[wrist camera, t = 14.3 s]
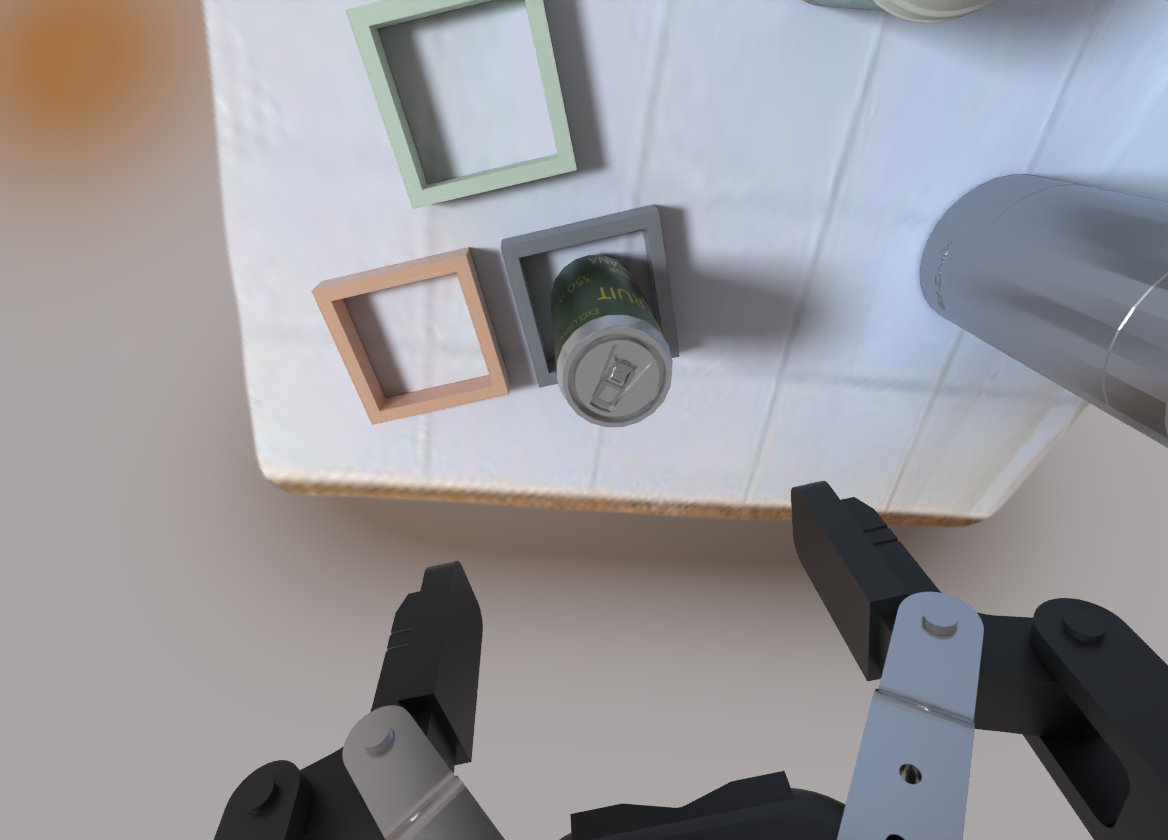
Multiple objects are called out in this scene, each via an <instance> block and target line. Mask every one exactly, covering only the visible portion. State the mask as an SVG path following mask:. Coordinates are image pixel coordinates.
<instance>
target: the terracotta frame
mask: <svg viewBox="0 0 1168 840" xmlns="http://www.w3.org/2000/svg"><path fill="white" fill-rule="evenodd" d="M455 272H457V275H458V278H459V282H460V285H461V288H462V291H463V294H464V297H465V300H466V303H467V306H468V310H469V313H470V316H471V319H472V322H473V325H474V328H475V331H476V334H477V338H478V341H479V344H480V347H481V350H482V353H483V356H484V359H485V363H486V366H487V369H488V372H489V375H487V376H483V377H478V378H474V379H469V380H465V381H460V382H456V383H451V384H447V385H443V386H438V387H434V388H429V389H425V390H420V391H416V392H411V393H407V394H402V395H398V396H393V397H389V398H385V396H384V394H383V391H382V389H381V387H380V384H379V382H378V380H377V377H376V375H375V373H374V370H373V368H372V366H371V363H370V361H369V359H368V356H367V354H366V352H365V349H364V347H363V345H362V342H361V340H360V338H359V335H358V333H357V331H356V328H355V326H354V324H353V321H352V319H351V317H350V314H349V312H348V310H347V307H346V305H345V303H344V300H343V298H347V297H351V296H356V295H360V294H364V293H369V292H373V291H377V290H382V289H386V288H390V287H395V286H399V285H403V284H408V283H412V282H416V281H421V280H425V279H429V278H434V277H438V276H442V275H447V274H451V273H455ZM312 293H313V295H314V298H315V300H316V302H317V304H318V306H319V309H320V311H321V313H322V315H323V317H324V320H325V322H326V324H327V326H328V328H329V331H330V333H331V335H332V337H333V340H334V342H335V344H336V346H337V348H338V351H339V353H340V355H341V357H342V359H343V362H344V364H345V366H346V368H347V370H348V373H349V375H350V377H351V379H352V382H353V384H354V386H355V388H356V390H357V393H358V395H359V397H360V399H361V401H362V404H363V406H364V408H365V410H366V412H367V415H368V417H369V419H370V421H371V423H372V425H373V424H378V423H382V422H387V421H391V420H396V419H400V418H405V417H409V416H414V415H418V414H423V413H427V412H432V411H436V410H441V409H445V408H450V407H454V406H459V405H463V404H468V403H472V402H477V401H481V400H486V399H490V398H495V397H499V396H504V395H508V394H509V385H510V381H509V378H508V374H507V371H506V368H505V365H504V361H503V358H502V355H501V351H500V348H499V345H498V342H497V338H496V335H495V332H494V328H493V325H492V322H491V319H490V315H489V312H488V309H487V305H486V302H485V299H484V295H483V292H482V289H481V286H480V282H479V279H478V276H477V272H476V269H475V266H474V263H473V259H472V256H471V253H470V249H469V247H468V248H464V249H460V250H455V251H451V252H447V253H442V254H438V255H434V256H430V257H425V258H421V259H417V260H412V261H408V262H404V263H399V264H395V265H391V266H386V267H382V268H378V269H374V270H369V271H365V272H361V273H356V274H352V275H348V276H343V277H339V278H335V279H330V280H326V281H322V282H320V283H319V284H318V285H317V286H316V287H315V288H314V289H313V290H312Z"/></svg>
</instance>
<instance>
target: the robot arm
mask: <svg viewBox="0 0 1168 840" xmlns="http://www.w3.org/2000/svg"><path fill="white" fill-rule="evenodd" d="M920 285H921V288H922V292H923V295H924V297H925V299H926V301H927V302H928V304H929V306H930V307H931V308H932V309H933V310H934V311H935V312H937V313H938V314H939V315H940V316H942V317H944V318H945V319H947V320H949V321H951V322H952V323H954V324H956V325H957V326H959V327H961V328H963V329H964V330H966V331H968V332H969V333H971V334H973V335H975V336H976V337H977V338H979V339H981V340H983V341H984V342H986V343H988V344H989V345H991V346H993V347H995V348H996V349H998V350H1000V351H1002V352H1003V353H1005V354H1007V355H1008V356H1010V357H1012V358H1014V359H1015V360H1017V361H1019V362H1020V363H1022V364H1024V365H1026V366H1027V367H1029V368H1031V369H1032V370H1034V371H1036V372H1038V373H1039V374H1041V375H1043V376H1044V377H1046V378H1048V379H1050V380H1051V381H1053V382H1055V383H1056V384H1058V385H1060V386H1062V387H1063V388H1065V389H1067V390H1068V391H1070V392H1072V393H1074V394H1075V395H1077V396H1079V397H1081V398H1082V399H1084V400H1086V401H1087V402H1089V403H1091V404H1093V405H1094V406H1096V407H1098V408H1099V409H1101V410H1103V411H1105V412H1106V413H1108V414H1110V415H1111V416H1113V417H1115V418H1117V419H1118V420H1120V421H1122V422H1123V423H1125V424H1127V425H1129V426H1131V427H1133V428H1134V429H1136V430H1138V431H1140V432H1141V433H1143V434H1145V435H1146V436H1148V437H1150V438H1152V439H1153V440H1155V441H1157V442H1158V443H1160V444H1162V445H1164V446H1165V447H1167V448H1168V202H1164V201H1159V200H1154V199H1149V198H1144V197H1139V196H1134V195H1129V194H1123V193H1118V192H1113V191H1108V190H1103V189H1098V188H1093V187H1089V186H1084V185H1079V184H1074V183H1069V182H1064V181H1059V180H1053V179H1048V178H1043V177H1038V176H1033V175H1008V176H1004V177H999V178H995V179H993V180H991V181H988V182H986V183H984V184H981V185H979V186H978V187H976V188H975V189H973V190H972V191H970V192H969V193H967V194H965V195H964V196H963V197H962V198H961V199H959V200H958V201H957V202H956V203H955V204H954V205H953V206H952V207H950V208H949V210H948V211H947V212H946V213H945V215H944V216H943V217H942V218H941V219H940V221H939V222H938V223H937V225H936V227H935V228H934V230H933V232H932V233H931V235H930V237H929V239H928V241H927V244H926V246H925V249H924V252H923V255H922V260H921V266H920ZM791 505H792V524H793V539H794V543H795V548H796V551H797V554H798V557H799V559H800V561H801V563H802V565H803V567H804V569H805V571H806V572H807V574H808V576H809V578H810V580H811V581H812V583H813V585H814V586H815V589H816V590H817V592H818V594H819V596H820V597H821V599H822V601H823V603H824V605H825V606H826V608H827V610H828V612H829V613H830V615H831V617H832V619H833V621H834V622H835V624H836V626H837V628H838V630H839V631H840V633H841V635H842V637H843V639H844V640H845V642H846V644H847V646H848V647H849V649H850V651H851V653H852V655H853V656H854V658H855V660H856V662H857V664H858V665H859V667H860V669H861V671H862V673H863V674H864V676H865V678H866V680H867V681H872V680H876V679H881V682H880V685H879V689H876V690H875V691H874V694H873V698H872V701H871V705H870V709H869V713H868V717H867V721H866V725H865V730H864V733H863V737H862V741H861V745H860V749H859V753H858V758H857V761H856V765H855V769H854V773H853V777H852V781H851V785H850V789H849V793H848V797H847V801H846V805H845V804H843V803H841V802H839V801H837V800H835V799H833V798H830V797H828V796H825V795H822V794H819V793H816V792H813V791H808V790H803V789H795V788H790V785H789V782H788V779H787V777H786V774H785V772H784V771H782V772H776V773H771V774H767V775H762V776H757V777H752V778H747V779H742V780H737V781H732V782H730V783H728V784H726V785H724V786H722V787H720V788H718V789H716V790H714V791H712V792H710V793H709V794H707V795H705V796H703V797H701V798H699V799H697V800H695V801H693V802H692V803H689V804H687V805H685V806H683V807H679V808H670V807H657V806H644V805H633V804H618V805H613V806H609V807H604V808H599V809H594V810H589V811H584V812H579V813H574V814H571V832H572V833H570V834H568V835H566V836H564V837H563V838H561V839H560V840H962V839H963V831H964V821H965V812H966V803H967V794H968V784H969V776H970V766H971V757H972V747H973V739H974V729H982V730H991V731H1000V732H1010V733H1018V734H1023V736H1024V737H1025V739H1026V740H1027V741H1028V743H1029V744H1030V746H1031V747H1032V749H1033V750H1034V752H1035V753H1036V755H1037V756H1038V758H1039V759H1040V761H1041V762H1042V763H1043V765H1044V766H1045V768H1046V770H1047V771H1048V772H1049V774H1050V775H1051V777H1052V778H1053V780H1054V781H1055V783H1056V784H1057V786H1058V787H1059V789H1060V790H1061V792H1062V793H1063V795H1064V796H1065V797H1066V799H1067V801H1068V802H1069V803H1070V805H1071V806H1072V808H1073V809H1074V811H1075V812H1076V814H1077V815H1078V817H1079V818H1080V820H1081V821H1082V823H1083V824H1084V826H1085V827H1086V829H1087V830H1088V832H1089V833H1090V834H1091V836H1092V837H1093V839H1094V840H1168V665H1167V664H1166V663H1165V662H1164V661H1163V660H1162V659H1161V658H1160V657H1159V656H1158V655H1157V654H1156V653H1155V652H1154V651H1153V650H1152V649H1151V648H1150V647H1149V646H1148V645H1147V644H1146V643H1145V642H1144V641H1143V640H1142V639H1141V638H1140V637H1139V636H1138V635H1137V634H1136V633H1135V632H1134V631H1133V630H1132V629H1131V628H1130V627H1129V626H1128V625H1127V624H1126V623H1125V622H1124V621H1123V620H1121V619H1120V618H1119V617H1118V616H1116V615H1115V614H1114V613H1112V612H1110V611H1109V610H1107V609H1105V608H1103V607H1101V606H1098V605H1096V604H1093V603H1090V602H1087V601H1083V600H1078V599H1070V598H1059V599H1053V600H1049V601H1047V602H1044V603H1042V604H1041V605H1040V606H1039V607H1038V608H1037V609H1036V611H1035V613H1034V617H1033V618H1027V617H1010V616H994V615H986V614H981V613H977V612H976V611H975V610H974V609H972V607H970V606H969V605H968V604H966V603H965V602H963V601H962V600H960V599H958V598H956V597H953V596H950V595H947V594H943V593H941V592H940V591H939V590H938V588H937V587H936V586H935V585H934V583H933V582H932V581H931V580H930V578H929V577H928V576H927V575H926V573H925V572H924V571H923V570H922V568H921V567H920V566H919V565H918V563H917V562H916V561H915V560H914V558H913V557H912V556H911V555H910V553H909V552H908V551H907V550H906V548H905V547H904V546H903V545H902V543H901V542H898V538H897V537H896V536H895V535H894V534H893V532H892V531H891V530H890V528H889V529H888V527H887V525H886V523H885V522H884V521H883V520H882V518H881V517H880V516H879V515H878V513H877V512H876V511H875V510H874V509H873V508H871V507H870V506H868V505H866V504H865V503H863V502H861V501H860V500H858V499H856V498H855V497H852V498H847V499H843V500H840V499H839V498H838V496H837V495H836V493H835V492H834V491H833V489H832V488H831V487H830V485H829V484H828V483H827V482H826V481H820V482H815V483H811V484H806V485H802V486H797V487H793V488H792V490H791ZM482 627H483V624H482V616H481V611H480V607H479V604H478V602H477V599H476V597H475V595H474V593H473V590H472V588H471V586H470V583H469V581H468V579H467V576H466V574H465V572H464V570H463V567H462V565H461V564H460V563H459V561H454V562H450V563H445V564H441V565H436V566H432V567H428V568H426V570H425V573H424V577H423V582H422V587H421V591H419V592H415V593H411V594H408V596H407V597H406V599H405V600H404V601H403V603H402V604H401V606H400V607H399V609H398V610H397V612H396V614H395V618H394V622H393V626H392V630H391V634H392V635H391V636H390V638H389V642H388V646H387V649H388V651H387V652H386V654H385V658H384V662H383V666H382V670H381V674H380V678H379V682H378V686H377V690H376V694H375V697H374V702H373V705H372V709H371V712H370V713H369V714H367V715H366V716H364V717H363V718H362V719H361V720H360V721H359V722H358V723H357V724H356V725H355V726H354V728H353V729H352V730H351V731H350V733H349V735H348V737H347V739H346V741H345V744H344V747H342V748H341V749H339V750H338V751H336V752H334V753H332V754H331V755H328V756H327V757H325V758H323V759H321V760H319V761H317V762H315V763H313V764H311V765H310V766H307V767H306V768H304V769H302V770H299V769H298V768H297V767H296V765H294V763H292V762H290V761H285V760H279V761H274V762H271V763H268V764H266V765H264V766H262V767H260V768H258V769H257V770H255V771H254V772H253V773H251V774H250V775H249V776H248V777H247V778H246V779H245V780H243V782H242V783H241V784H240V785H239V786H238V787H237V788H236V790H235V791H234V793H233V794H232V796H231V797H230V799H229V801H228V803H227V806H226V808H225V811H224V813H223V816H222V819H221V821H220V824H219V827H218V830H217V833H216V835H215V838H214V840H505V839H504V838H503V836H502V835H501V834H500V832H499V831H498V830H497V828H496V827H495V825H494V824H493V823H492V822H491V820H490V819H489V817H488V816H487V815H486V813H485V812H484V811H483V809H482V808H481V806H480V805H479V804H478V802H477V801H476V800H475V798H474V797H473V796H472V794H471V793H470V792H469V790H468V789H467V787H466V786H465V785H464V783H463V782H462V781H461V780H460V779H459V777H458V776H455V775H454V765H458V764H463V763H468V762H471V758H472V747H473V736H474V724H475V713H476V712H475V711H476V701H477V689H478V677H479V666H480V655H481V643H482V631H483V628H482Z"/></svg>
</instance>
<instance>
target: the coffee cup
mask: <svg viewBox="0 0 1168 840" xmlns="http://www.w3.org/2000/svg"><path fill="white" fill-rule="evenodd" d="M803 1H805V2H807V3H810V4H814V5H820V6H832V7H844V8H859V9H873V10H885V11H887V12H889V13H891V14H893V15H895V16H897V17H899V18H902V19H906V20H909V21H914V22H924V23H932V22H942V21H948V20H952V19H956V18H959V17H962V16H965V15H967V14H970V13H972V12H974V11H976V10H978V9H980V8H983V7H985V6H987V5H989V4H991V3H993V2H994V1H996V0H803Z"/></svg>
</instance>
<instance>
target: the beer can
mask: <svg viewBox="0 0 1168 840" xmlns="http://www.w3.org/2000/svg"><path fill="white" fill-rule="evenodd" d="M551 313H552V325H553V338H554V350H555V362H556V374H557V381H558V384H559V387H560V389H561V392H562V395H563V396H564V397H565V398H566V400H567V401H568V403H569V405H570V406H571V407H572V408H573V410H574V411H575V412H576V413H577V414H578V415H579V416H581V417H582V418H584V419H585V420H587V421H589V422H590V423H593V424H597V425H600V426H604V427H624V426H628V425H631V424H634V423H638V422H640V421H642V420H643V419H645V418H646V417H648V416H650V415H651V414H653V413H654V412H655V410H656V409H657V408H658V407H659V406H660V405H661V404H662V403H663V402H664V400H665V397H666V395H667V393H668V391H669V389H670V385H671V376H672V357H671V353H670V349H669V345H668V343H667V341H666V339H665V337H664V335H663V333H662V331H661V329H660V327H659V326H658V324H657V322H656V320H655V318H654V316H653V314H652V312H651V310H650V308H649V306H648V304H647V302H646V300H645V298H644V296H643V294H642V292H641V290H640V288H639V286H638V284H637V282H636V280H635V279H634V277H633V276H632V274H631V273H630V271H629V270H628V268H627V267H625V266H624V265H623V264H622V263H620V262H619V261H618V260H616V259H613V258H610V257H607V256H604V255H588V256H585V257H582V258H579V259H576V260H574V261H573V262H571V263H570V264H568V265H567V266H566V267H564V268H563V269H562V271H561V272H560V273H559V275H558V276H557V278H556V279H555V281H554V284H553V287H552V291H551Z"/></svg>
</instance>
